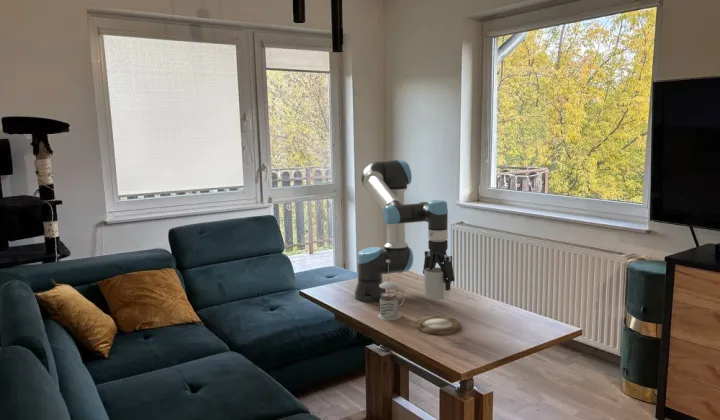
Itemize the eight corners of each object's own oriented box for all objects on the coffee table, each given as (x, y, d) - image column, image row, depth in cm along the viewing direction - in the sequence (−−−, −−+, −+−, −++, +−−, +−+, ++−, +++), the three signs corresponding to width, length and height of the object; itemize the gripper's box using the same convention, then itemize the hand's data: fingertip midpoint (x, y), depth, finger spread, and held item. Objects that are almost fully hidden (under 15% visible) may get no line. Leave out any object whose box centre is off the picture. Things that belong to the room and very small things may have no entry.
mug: (432, 301, 203) (432, 273, 201) (420, 295, 210) (420, 269, 209) (457, 296, 208) (457, 269, 207) (444, 290, 216) (444, 264, 214)
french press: (381, 311, 231) (380, 256, 227) (407, 313, 227) (406, 257, 223) (374, 318, 222) (373, 261, 218) (401, 321, 218) (400, 263, 214)
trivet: (407, 324, 214) (406, 318, 214) (439, 315, 224) (439, 309, 224) (436, 338, 199) (436, 332, 199) (470, 327, 209) (470, 321, 209)
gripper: (413, 236, 213) (414, 290, 216) (449, 245, 195) (450, 303, 199) (427, 234, 217) (427, 287, 220) (464, 242, 199) (464, 299, 203)
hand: (438, 294), depth 209 cm, fingers closed on mug, 8 cm apart
